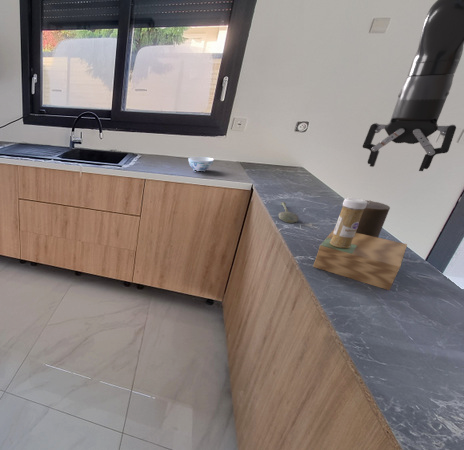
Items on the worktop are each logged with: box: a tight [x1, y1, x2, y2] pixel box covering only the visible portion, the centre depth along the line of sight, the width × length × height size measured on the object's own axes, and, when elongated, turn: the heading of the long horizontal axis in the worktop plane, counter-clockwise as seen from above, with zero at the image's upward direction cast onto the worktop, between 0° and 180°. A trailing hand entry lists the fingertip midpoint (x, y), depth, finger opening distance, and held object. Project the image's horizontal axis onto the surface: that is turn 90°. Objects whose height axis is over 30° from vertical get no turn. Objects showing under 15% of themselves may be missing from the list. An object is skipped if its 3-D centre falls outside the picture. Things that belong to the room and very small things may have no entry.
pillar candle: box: [356, 199, 391, 238], centre depth 100 cm, size 10×10×15 cm
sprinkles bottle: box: [330, 197, 368, 248], centre depth 84 cm, size 5×5×13 cm
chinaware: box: [187, 156, 215, 172], centre depth 198 cm, size 15×15×8 cm
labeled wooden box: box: [312, 227, 408, 291], centre depth 88 cm, size 16×18×7 cm
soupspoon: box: [278, 201, 299, 224], centre depth 128 cm, size 22×3×7 cm
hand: (395, 168), depth 76 cm, fingers open, 8 cm apart
